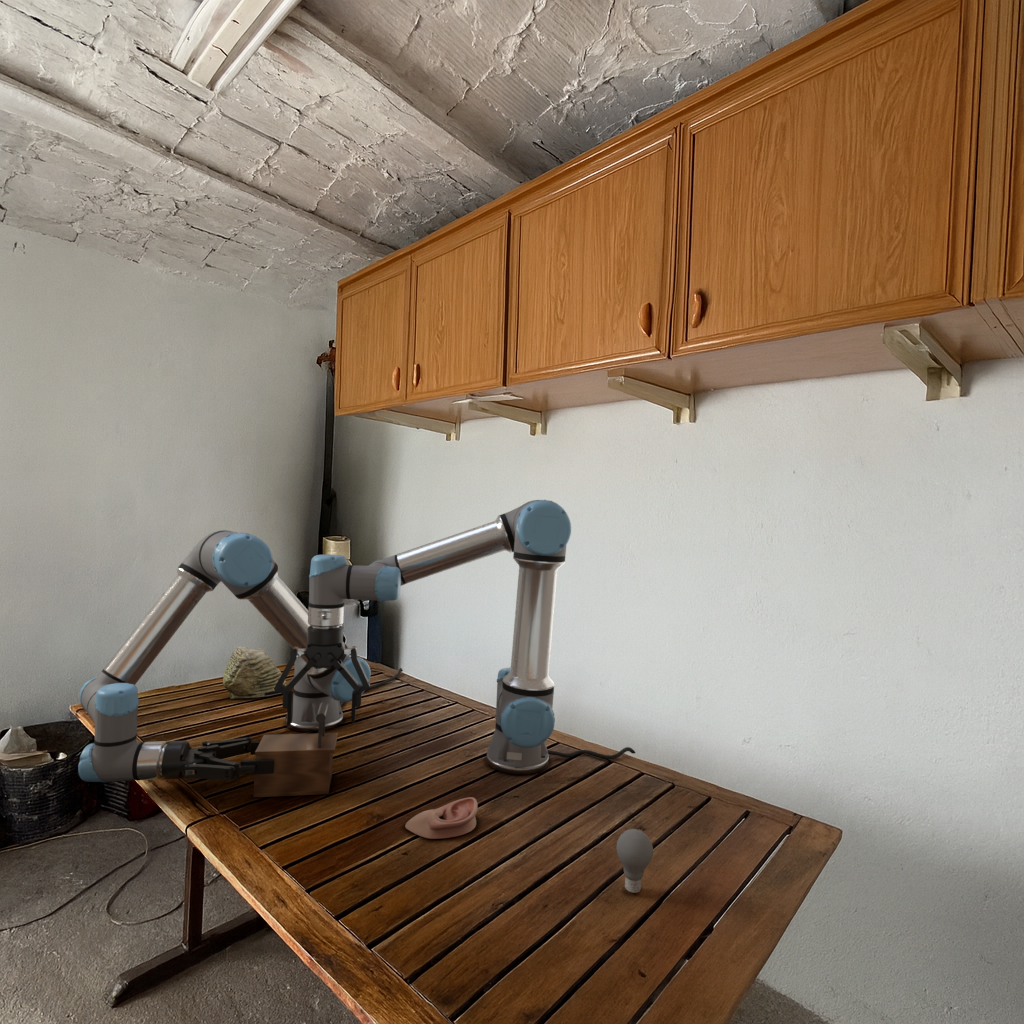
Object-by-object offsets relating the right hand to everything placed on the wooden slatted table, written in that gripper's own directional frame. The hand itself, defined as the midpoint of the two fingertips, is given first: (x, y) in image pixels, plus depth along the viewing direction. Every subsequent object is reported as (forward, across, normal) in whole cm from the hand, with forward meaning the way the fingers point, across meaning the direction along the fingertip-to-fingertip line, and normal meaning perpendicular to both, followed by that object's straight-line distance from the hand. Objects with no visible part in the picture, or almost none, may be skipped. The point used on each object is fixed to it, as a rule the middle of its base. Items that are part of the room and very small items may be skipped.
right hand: (321, 722), depth 139 cm
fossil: (+14, -26, +65) cm, 71 cm away
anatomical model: (+14, +25, -20) cm, 35 cm away
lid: (+5, -5, 0) cm, 7 cm away
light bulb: (+14, +55, -45) cm, 72 cm away
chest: (+14, -5, 0) cm, 15 cm away
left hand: (+7, -9, 0) cm, 11 cm away
